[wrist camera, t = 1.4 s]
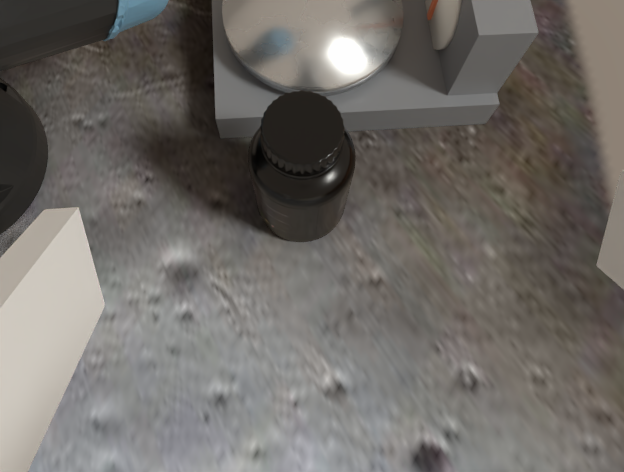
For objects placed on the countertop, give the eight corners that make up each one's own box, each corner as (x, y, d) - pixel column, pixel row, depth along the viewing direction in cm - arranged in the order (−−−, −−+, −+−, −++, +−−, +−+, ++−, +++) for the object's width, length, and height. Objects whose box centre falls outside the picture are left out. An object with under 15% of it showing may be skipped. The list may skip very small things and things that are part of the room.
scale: (220, 138, 41) (199, 61, 32) (215, -21, 46) (195, -130, 36) (485, 123, 43) (541, 45, 33) (453, -30, 47) (495, -137, 38)
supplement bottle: (303, 147, 41) (308, 52, 30) (362, 206, 40) (390, 130, 29) (238, 199, 40) (217, 121, 28) (297, 263, 38) (300, 207, 27)
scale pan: (227, 101, 38) (225, 92, 37) (221, -48, 42) (219, -60, 41) (411, 91, 39) (415, 82, 38) (388, -53, 43) (391, -65, 42)
